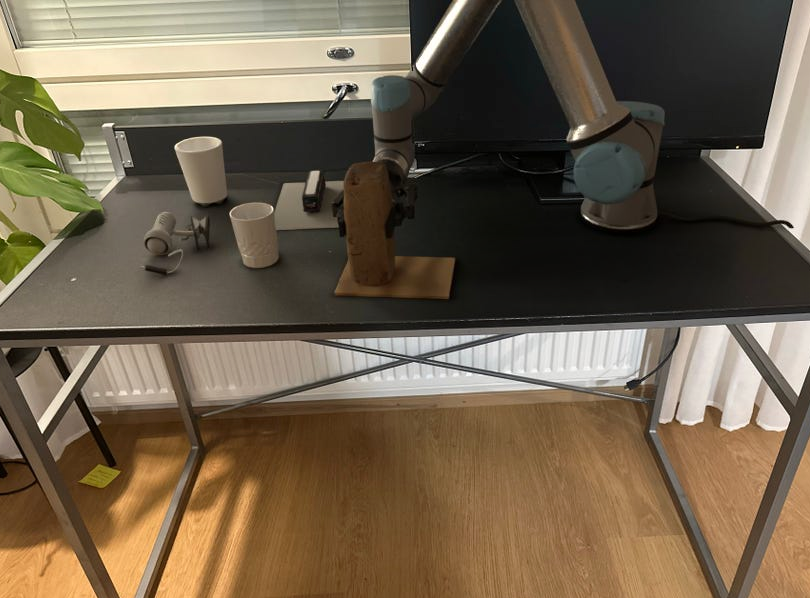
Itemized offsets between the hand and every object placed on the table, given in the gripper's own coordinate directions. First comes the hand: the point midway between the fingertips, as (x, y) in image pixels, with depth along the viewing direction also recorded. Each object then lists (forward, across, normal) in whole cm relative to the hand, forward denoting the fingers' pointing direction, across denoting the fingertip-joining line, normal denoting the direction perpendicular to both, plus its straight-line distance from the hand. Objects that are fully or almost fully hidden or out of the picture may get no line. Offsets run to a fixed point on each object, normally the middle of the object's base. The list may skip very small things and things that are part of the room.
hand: (364, 230), depth 116 cm
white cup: (-10, +23, -12) cm, 28 cm away
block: (-5, 0, -11) cm, 12 cm away
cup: (-37, +43, -12) cm, 58 cm away
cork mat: (-5, -4, -12) cm, 13 cm away
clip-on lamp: (-11, +40, -12) cm, 43 cm away
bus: (-36, +20, -12) cm, 43 cm away
